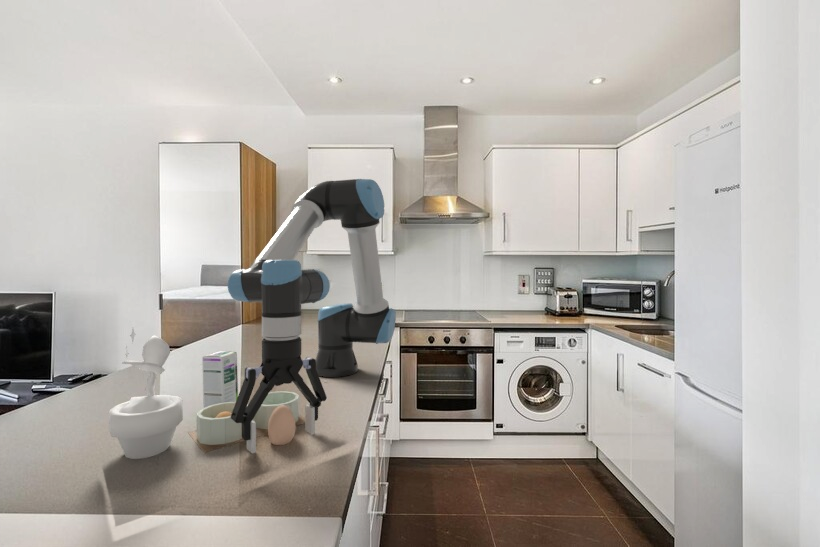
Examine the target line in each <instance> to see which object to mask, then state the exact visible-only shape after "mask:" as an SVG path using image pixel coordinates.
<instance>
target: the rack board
mask: <svg viewBox="0 0 820 547" xmlns="http://www.w3.org/2000/svg"><path fill="white" fill-rule="evenodd" d="M295 425H296V427H298V426H300V425H305V416H303V415H301V414H299V419H298V421H297V422H295ZM187 434H188V435H189V436H190V438H192V440H193V442H195V444H196V445H197V446H198V448H199V449H200V450H201V451H202V452H203V453H207V452H211V451H215V450H218V449H221V448H225V447H229V446H232V445H235V444H238V443H241V442H246V441H245V440H244V439H243V438H242V439H240V440H237V441H234V442H230V443H227V444H218V445H207V444H202V443H200V442H199V441H198V440H197V429H195V430H192V431H188V432H187ZM266 435H268V429H260V428H256V438H260V437H262V436H266Z"/></svg>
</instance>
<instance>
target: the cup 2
mask: <svg viewBox="0 0 820 547" xmlns="http://www.w3.org/2000/svg"><path fill="white" fill-rule="evenodd" d="M282 405H284V406H287V407H288V408H289V409H290V410H291V412H292V413H293V416H294V418H295V422H297V421H298V419H299V415H300V395H299V394H298V393H296V392H294V391H285V390H283V391H280V390H279V391H270V392H269V393H268V395H267V397H266V398H265V400H264V401H263V403H262V405H261V406H260V408H259V410H258V411H257V413H256V415H255V416H254V418H253V421H254V422H255V423H256V428H260V429H268V423H269V420H270V417H271V415H272V413H273V411H274V410H275V409H276V408H277V407H279V406H282Z"/></svg>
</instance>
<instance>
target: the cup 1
mask: <svg viewBox="0 0 820 547" xmlns="http://www.w3.org/2000/svg"><path fill="white" fill-rule="evenodd" d="M235 403H236V402H224V403H219V404H215V405H210V406H208V407H206V408H204V407H203V408H201V409H200V410H198V412H197V413H196V430H197V440H198V441H199V442H200V443H202V444H207V445H218V444H227V443H230V442H234V441H237V440H240V439H242V424H241V423H236V422H235V421H233V420H232V419H231V416H228V417H222V418H216V416H217V415H218V414H219V413H221V412H224V411H228V412H231V413H232V411H233V409H234V406H235ZM248 404H249V403H248ZM248 404H247V406H248Z"/></svg>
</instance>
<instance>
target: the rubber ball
mask: <svg viewBox="0 0 820 547" xmlns="http://www.w3.org/2000/svg"><path fill="white" fill-rule="evenodd" d="M231 414H232V413H231V412H228V411H224V412H221V413H219V414H218V415H217V416H216V418H222V417H228V416H231Z"/></svg>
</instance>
